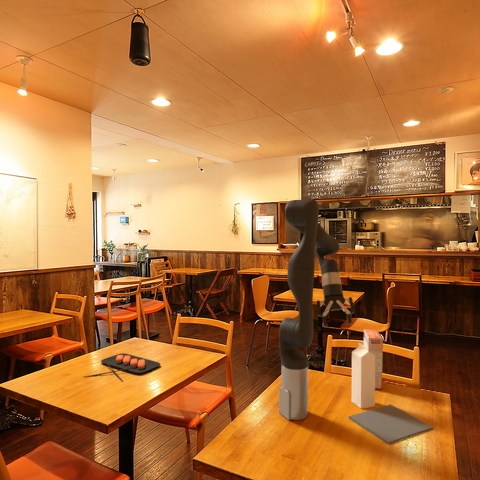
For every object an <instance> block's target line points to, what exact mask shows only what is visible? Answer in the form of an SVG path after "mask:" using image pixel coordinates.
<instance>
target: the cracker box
mask: <svg viewBox="0 0 480 480" xmlns="http://www.w3.org/2000/svg"><path fill="white" fill-rule="evenodd" d="M383 342H384V338H383V337H382V336H381V334H380V333H379V332H378V330H377V329H365V328H364V329H363V345H364V346H366V347H368V348H369V352H370V353H372V354H374V355H375V390H376V389H378V390H382V389H383V385H382V384H383V354H384V353H383V350H384V348H383V347H384V346H383V345H384V344H383Z"/></svg>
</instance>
